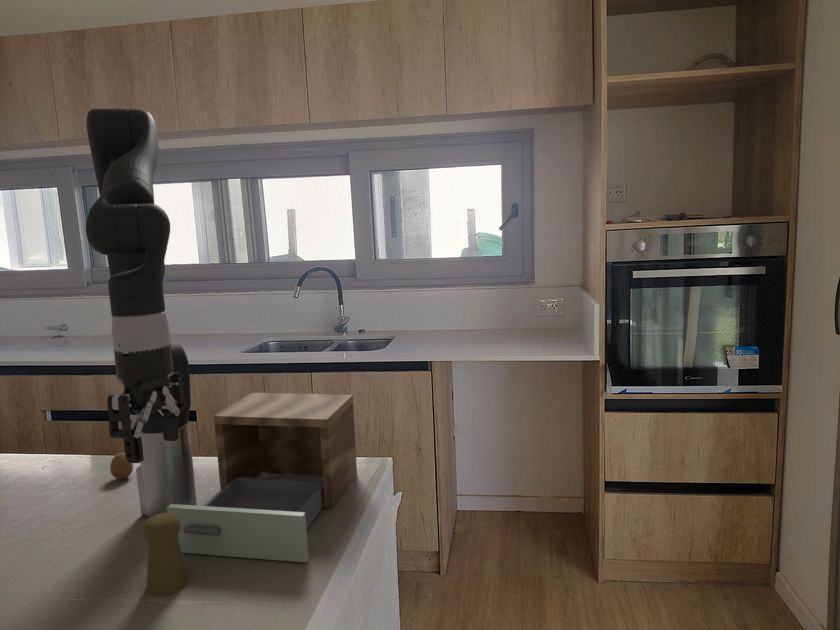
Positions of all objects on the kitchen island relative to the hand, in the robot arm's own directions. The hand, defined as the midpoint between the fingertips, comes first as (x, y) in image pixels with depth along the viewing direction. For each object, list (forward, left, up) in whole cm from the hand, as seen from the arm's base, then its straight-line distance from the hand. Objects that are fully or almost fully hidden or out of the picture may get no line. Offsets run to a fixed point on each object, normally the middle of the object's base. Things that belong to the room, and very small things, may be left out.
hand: (154, 450), depth 87 cm
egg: (-34, +34, -22) cm, 53 cm away
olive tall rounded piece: (0, 0, -22) cm, 22 cm away
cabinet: (+6, +34, -22) cm, 41 cm away
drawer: (+7, +18, -21) cm, 29 cm away
